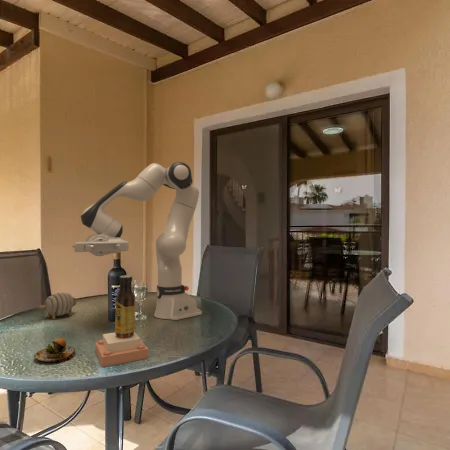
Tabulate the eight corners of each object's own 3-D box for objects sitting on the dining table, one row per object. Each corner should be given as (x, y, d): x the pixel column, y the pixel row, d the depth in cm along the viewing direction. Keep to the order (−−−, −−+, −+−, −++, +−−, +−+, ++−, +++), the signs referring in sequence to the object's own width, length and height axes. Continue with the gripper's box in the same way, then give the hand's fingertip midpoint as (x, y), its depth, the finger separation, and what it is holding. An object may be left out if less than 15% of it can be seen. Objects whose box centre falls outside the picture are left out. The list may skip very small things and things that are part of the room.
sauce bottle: (114, 333, 110) (114, 274, 110) (133, 331, 113) (133, 273, 113) (115, 340, 104) (116, 277, 104) (135, 337, 107) (136, 276, 107)
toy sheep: (82, 314, 155) (82, 291, 155) (47, 323, 140) (47, 297, 140) (68, 311, 160) (68, 288, 160) (33, 319, 146) (33, 294, 146)
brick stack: (136, 344, 117) (137, 327, 117) (148, 358, 105) (148, 339, 105) (95, 351, 111) (95, 333, 111) (102, 367, 98) (102, 347, 98)
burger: (32, 355, 107) (32, 333, 107) (71, 348, 114) (71, 326, 114) (36, 369, 97) (36, 344, 97) (78, 360, 104) (78, 336, 104)
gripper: (71, 238, 131) (75, 239, 119) (124, 237, 141) (131, 238, 129) (71, 253, 131) (74, 257, 119) (123, 252, 141) (131, 254, 129)
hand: (104, 247), depth 124 cm, fingers open, 8 cm apart
